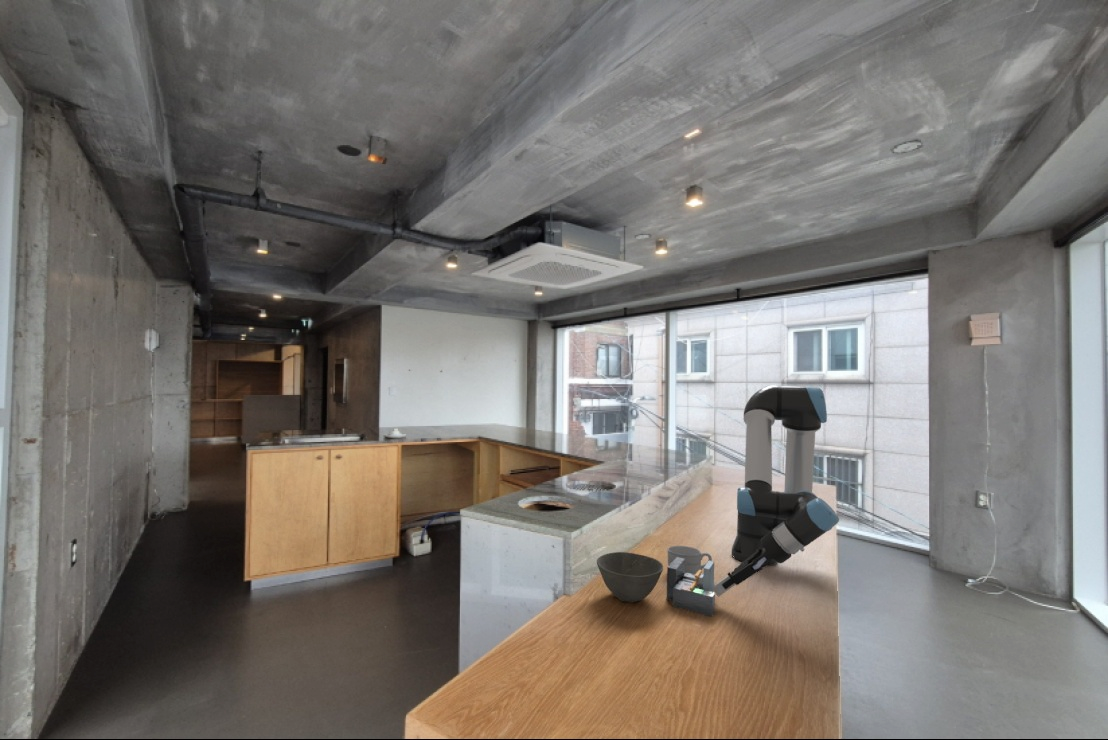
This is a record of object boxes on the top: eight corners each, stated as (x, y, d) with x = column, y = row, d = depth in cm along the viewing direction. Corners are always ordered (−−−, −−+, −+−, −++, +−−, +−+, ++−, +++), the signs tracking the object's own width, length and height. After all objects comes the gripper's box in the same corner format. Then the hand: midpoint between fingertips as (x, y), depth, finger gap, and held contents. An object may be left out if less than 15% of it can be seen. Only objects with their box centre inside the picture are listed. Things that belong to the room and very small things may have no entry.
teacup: (664, 577, 150) (665, 551, 150) (669, 565, 160) (670, 541, 160) (710, 585, 145) (710, 559, 145) (712, 573, 155) (712, 548, 155)
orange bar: (698, 577, 137) (698, 569, 137) (701, 578, 137) (701, 570, 137) (689, 590, 127) (689, 582, 128) (692, 591, 127) (692, 582, 127)
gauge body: (676, 587, 142) (676, 557, 143) (721, 598, 136) (722, 566, 136) (662, 603, 131) (663, 571, 131) (711, 616, 124) (712, 582, 124)
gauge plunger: (685, 589, 140) (686, 555, 140) (713, 596, 135) (714, 561, 136) (679, 598, 133) (680, 562, 134) (708, 605, 129) (709, 569, 130)
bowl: (674, 598, 134) (675, 563, 135) (638, 621, 120) (639, 581, 121) (620, 579, 147) (621, 546, 147) (582, 597, 133) (583, 561, 134)
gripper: (791, 562, 117) (720, 612, 125) (794, 548, 128) (729, 595, 136) (768, 537, 120) (700, 587, 128) (773, 525, 131) (710, 572, 139)
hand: (715, 591), depth 132 cm, fingers closed
